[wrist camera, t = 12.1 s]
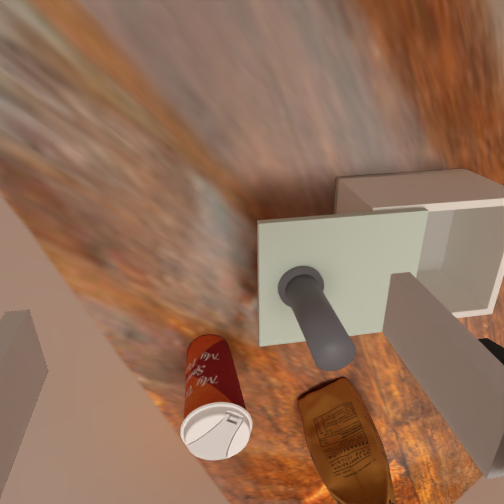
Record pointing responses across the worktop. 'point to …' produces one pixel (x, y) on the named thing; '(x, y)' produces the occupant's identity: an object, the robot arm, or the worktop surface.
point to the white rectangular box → (443, 229)
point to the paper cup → (213, 402)
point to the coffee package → (346, 445)
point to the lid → (332, 277)
